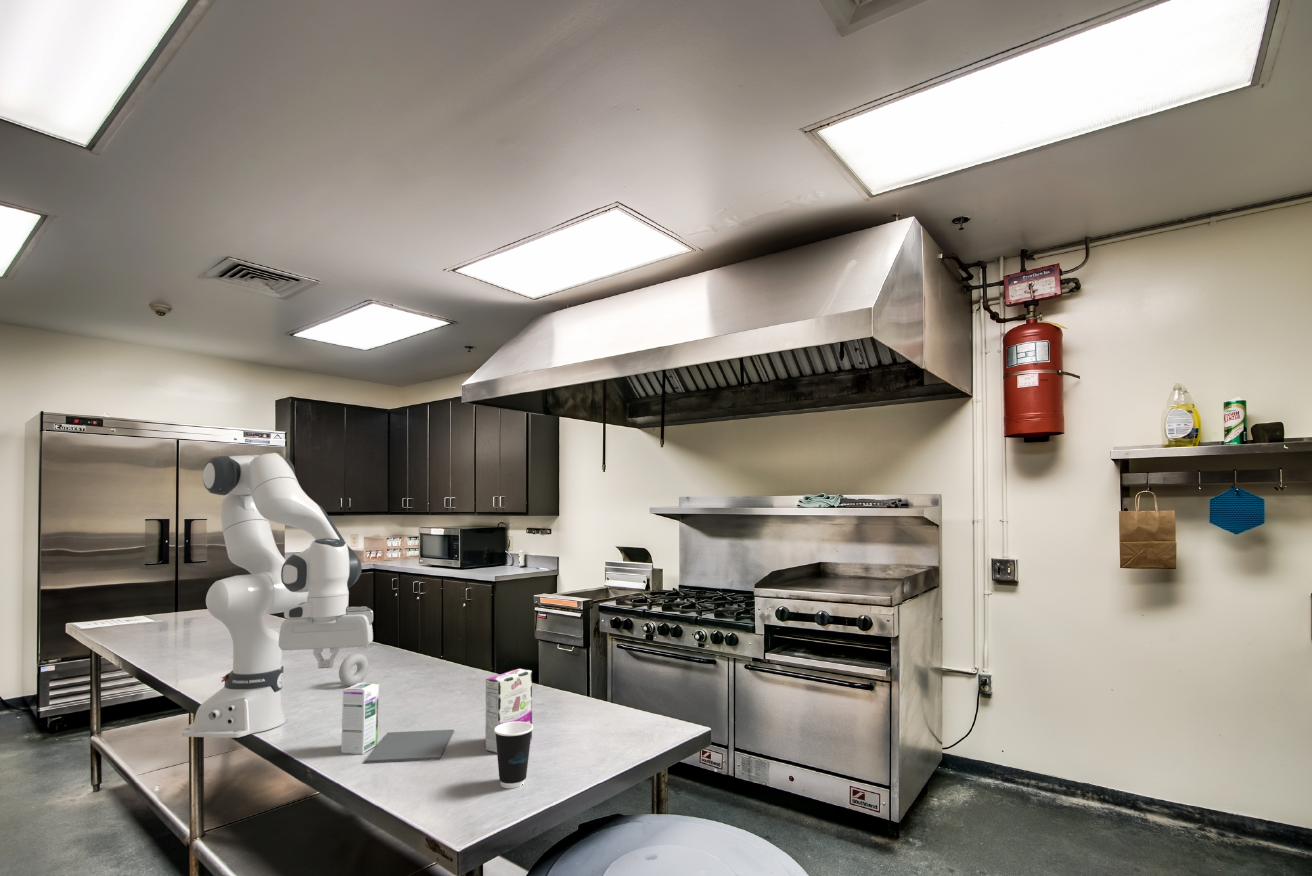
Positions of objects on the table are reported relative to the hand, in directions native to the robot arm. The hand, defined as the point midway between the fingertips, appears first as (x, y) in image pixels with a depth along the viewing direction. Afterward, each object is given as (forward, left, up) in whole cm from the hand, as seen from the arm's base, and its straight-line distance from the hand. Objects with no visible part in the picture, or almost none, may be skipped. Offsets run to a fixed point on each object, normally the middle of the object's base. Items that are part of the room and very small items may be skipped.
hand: (325, 667), depth 153 cm
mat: (+20, 0, -19) cm, 28 cm away
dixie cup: (+46, -24, -19) cm, 55 cm away
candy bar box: (+43, -2, -19) cm, 47 cm away
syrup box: (+8, 0, -19) cm, 21 cm away
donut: (-11, +57, -19) cm, 61 cm away
